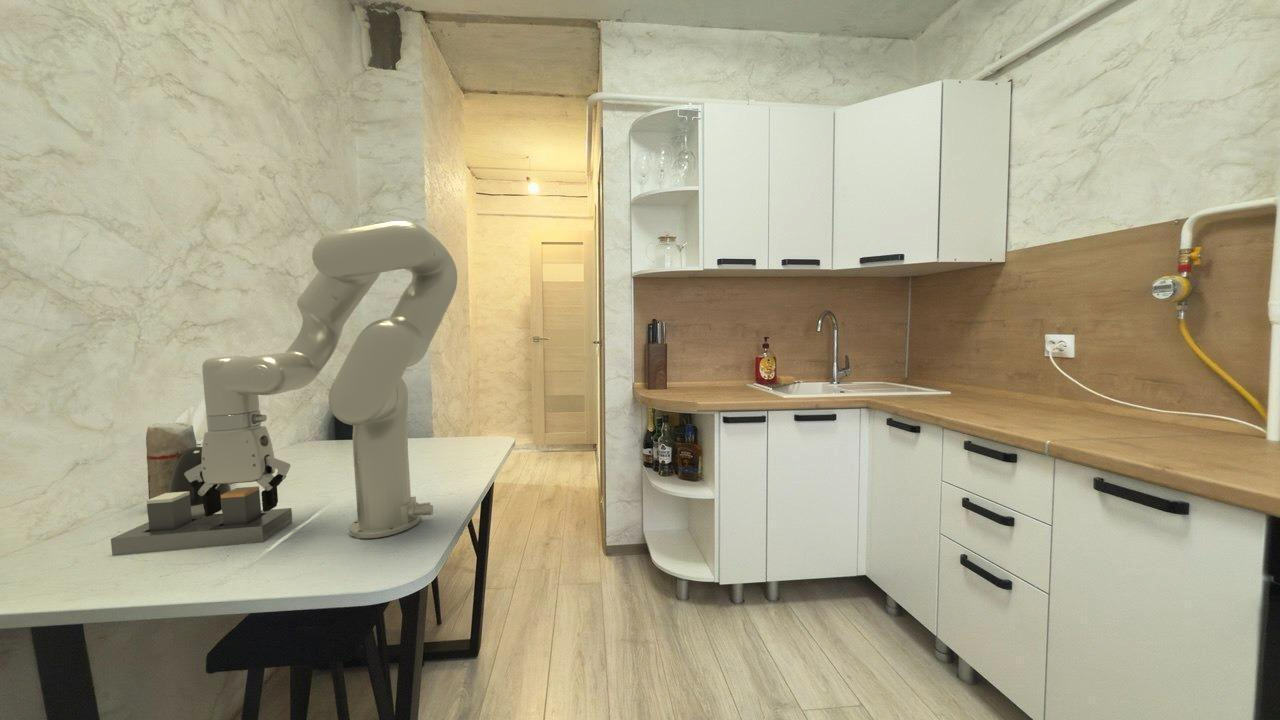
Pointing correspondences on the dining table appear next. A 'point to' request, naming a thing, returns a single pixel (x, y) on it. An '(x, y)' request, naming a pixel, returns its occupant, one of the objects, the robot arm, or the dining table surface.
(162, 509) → the twin plug
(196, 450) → the dark grey dome
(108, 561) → the dining table surface
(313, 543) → the dining table surface
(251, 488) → the plug
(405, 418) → the robot arm
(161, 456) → the tan rounded column
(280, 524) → the grey slotted tray
